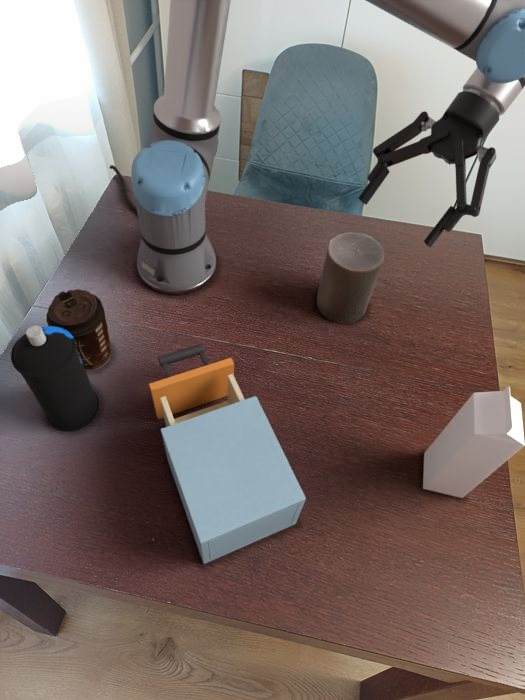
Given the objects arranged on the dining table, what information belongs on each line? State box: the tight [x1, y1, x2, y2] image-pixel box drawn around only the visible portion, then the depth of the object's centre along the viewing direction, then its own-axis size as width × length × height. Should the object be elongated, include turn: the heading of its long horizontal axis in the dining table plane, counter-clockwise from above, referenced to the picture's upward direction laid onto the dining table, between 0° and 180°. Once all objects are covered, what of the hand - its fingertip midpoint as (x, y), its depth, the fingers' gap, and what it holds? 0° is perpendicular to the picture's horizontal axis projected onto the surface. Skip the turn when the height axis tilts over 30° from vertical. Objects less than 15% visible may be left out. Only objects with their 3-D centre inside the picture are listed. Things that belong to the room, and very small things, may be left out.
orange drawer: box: [148, 343, 246, 427], centre depth 74 cm, size 20×13×9 cm, turn 24°
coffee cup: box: [46, 288, 112, 372], centre depth 79 cm, size 9×8×13 cm
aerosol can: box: [10, 324, 100, 432], centre depth 70 cm, size 8×8×20 cm
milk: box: [422, 385, 525, 499], centre depth 67 cm, size 6×6×22 cm
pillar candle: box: [316, 231, 385, 324], centre depth 89 cm, size 10×10×15 cm
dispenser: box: [160, 395, 307, 565], centre depth 68 cm, size 16×14×11 cm
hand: (393, 222), depth 82 cm, fingers open, 13 cm apart
